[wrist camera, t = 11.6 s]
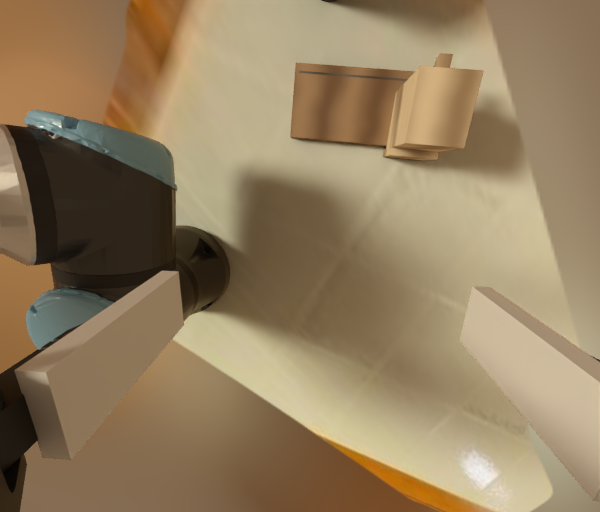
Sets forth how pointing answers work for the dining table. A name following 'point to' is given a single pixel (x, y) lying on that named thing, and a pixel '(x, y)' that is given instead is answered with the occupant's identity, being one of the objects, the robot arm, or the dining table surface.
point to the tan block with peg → (433, 111)
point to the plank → (344, 103)
